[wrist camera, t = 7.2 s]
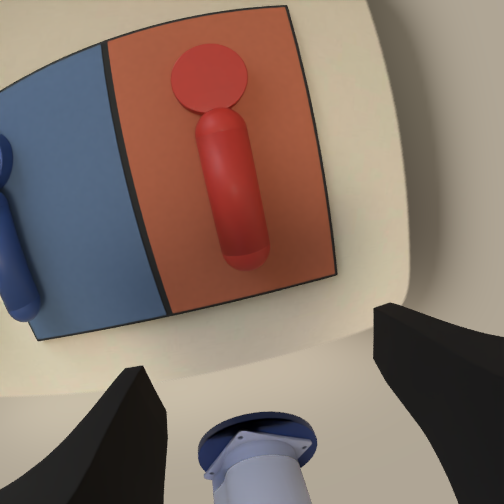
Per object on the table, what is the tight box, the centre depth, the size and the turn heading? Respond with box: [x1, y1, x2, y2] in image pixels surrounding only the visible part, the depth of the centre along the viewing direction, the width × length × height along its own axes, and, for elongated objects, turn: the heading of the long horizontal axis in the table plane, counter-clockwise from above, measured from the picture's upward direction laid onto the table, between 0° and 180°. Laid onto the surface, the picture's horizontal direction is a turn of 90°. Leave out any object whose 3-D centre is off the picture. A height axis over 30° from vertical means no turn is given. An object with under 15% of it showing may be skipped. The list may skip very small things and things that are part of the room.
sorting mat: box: [0, 5, 337, 341], centre depth 15 cm, size 16×20×1 cm
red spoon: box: [171, 44, 270, 271], centre depth 14 cm, size 11×4×2 cm, turn 11°
